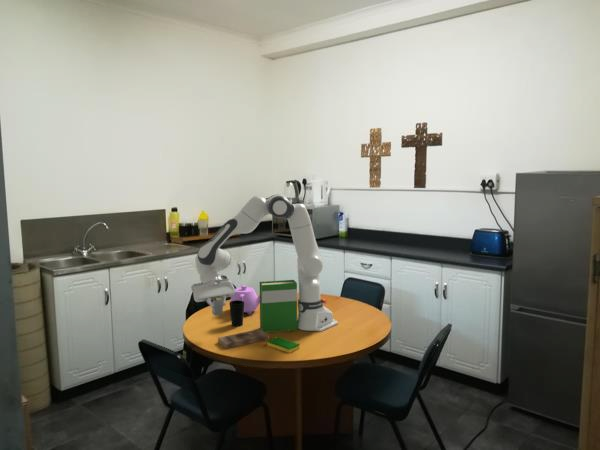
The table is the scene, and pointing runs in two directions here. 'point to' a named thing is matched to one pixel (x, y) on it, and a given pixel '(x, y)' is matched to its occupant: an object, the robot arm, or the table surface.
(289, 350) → the dish sponge
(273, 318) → the hardback book
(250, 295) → the teapot
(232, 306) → the cup
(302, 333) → the table surface
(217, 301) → the lever cap
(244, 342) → the brown flat board
